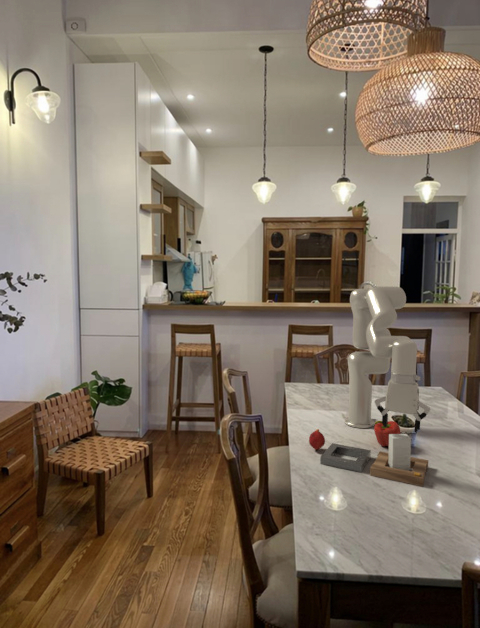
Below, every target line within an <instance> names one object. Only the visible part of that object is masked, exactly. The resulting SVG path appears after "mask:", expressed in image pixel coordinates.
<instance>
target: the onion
mask: <svg viewBox="0 0 480 628" xmlns="http://www.w3.org/2000/svg"><path fill="white" fill-rule="evenodd" d="M308 443H309V445H310V446H311V447H312V449H314V450H316V451H318V450H320V449H321V448H322V447H324V445H325V444H326V438H325V436H324V435H323V433H322V432H320V429H319V428H316V429H315V430H314V431H313V432H311V434H309V437H308Z"/></svg>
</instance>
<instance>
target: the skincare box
mask: <svg viewBox="0 0 480 628" xmlns="http://www.w3.org/2000/svg"><path fill="white" fill-rule="evenodd" d="M411 448H412V438H411V437H410V435H408V434H407V433H401V434H389V447H388V453H389V459H388V466H387V467H391V468H396V469H401V470H406V471H411V468H410V459H411V457H412V456H411V452H412V449H411Z"/></svg>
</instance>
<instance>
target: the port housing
mask: <svg viewBox="0 0 480 628" xmlns="http://www.w3.org/2000/svg"><path fill="white" fill-rule="evenodd" d="M388 459H389V452H387V451H379V452H378V453H377V457H376V459H374V462H373V463H371V466H370V468H369V472H370V473H369V475H370V476H372V477H377V478H381V479H387V480H391V481H395V482H400V483H406V484H411V485H414V486H419V487H423V486H424V483H425V477H426V474H427V473H426V472H428V470H429V459H424V458H419V457H413V456H411V459H410V469H412V470H410V471H406V470H401V469H396V468H391V467H388Z"/></svg>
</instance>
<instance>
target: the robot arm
mask: <svg viewBox="0 0 480 628" xmlns="http://www.w3.org/2000/svg"><path fill="white" fill-rule="evenodd" d="M406 302H407V296H406V293H405V291H404V289H403V288H402V287H400V286H374V287H373V286H372V287H371V288H367V287H366V288H356V289H354V290H352V291H351V293H350V296H349V305H350V309H351V312H352V318H353V320H352V340H351V341H352V345H353V347H354V348H356V349H358V350H369V351H354V352H351V353H350V354H349V355H348V357H347V366H348V367H347V369H348V374H349V375H348V376H349V377H348V378H349V383H348V386H349V387H348V417H346V418H345V419H344V423H345V424H346V426H350V427H353V428H358V429H368V428H369V429H370V428H374V427H375V425H376V424H375V422H376V421H374V420H373V419H372V401H373V400H372V399H373V398H372V397H373V386H372V385H373V384H372V381H371V380H370V379H369V378H368V377H367V375H382V374H384V375H385V374H386V373H388V372H389V370H390V369H391V371H390V379H389V380H388V382H387V387H386V393H385V396H383V397H380V398H376V399H375V400H374V404H375V407H376V409H377V410H378V411H379V412H380V414H381V416H382V418H381V421H382V424H384V427H386V426H387V424H388V421H389V412H392V413H400V414H405V415H406V414H407V415H412V416H413V417H414V419H415V421H414V431H413V432H414V433H416V434H417V433H418V431H420V430H421V429H420V428H421V420H423V419H424V418H426V417H427V415H428V414H429V413H430V411H431V407H430V406H428V405H426V404H425V403H423V402H422V401H420V387H419V384H418V381H419V382H420V381H421V376H419V375H417V373H416V372H417V359H418V358H417V356H418V344H417V342H416V341H414V340H412V339H411V338H410V337H408V336H406V335H392V334H391V331H390V330H389V329H388V327H391V326H392V325H393V324H394V323H396V322H397V319H398V313H397V312H396V311H397V310H400V309H403V307H405V306H406ZM390 365H391V366H390ZM390 367H391V368H390ZM383 402H384V403H385V404H384V406H385V407H383V406H382V405H381V403H383ZM419 408H420V409H422V410H424V411H423V412H422V413H420V412H419Z"/></svg>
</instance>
